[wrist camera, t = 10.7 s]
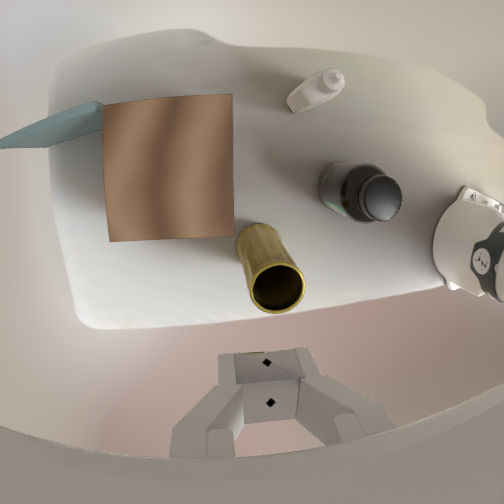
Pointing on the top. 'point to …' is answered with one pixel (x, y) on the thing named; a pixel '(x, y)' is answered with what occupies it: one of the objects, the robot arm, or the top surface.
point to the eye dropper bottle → (316, 90)
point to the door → (57, 128)
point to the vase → (269, 270)
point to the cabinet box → (169, 168)
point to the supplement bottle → (360, 192)
